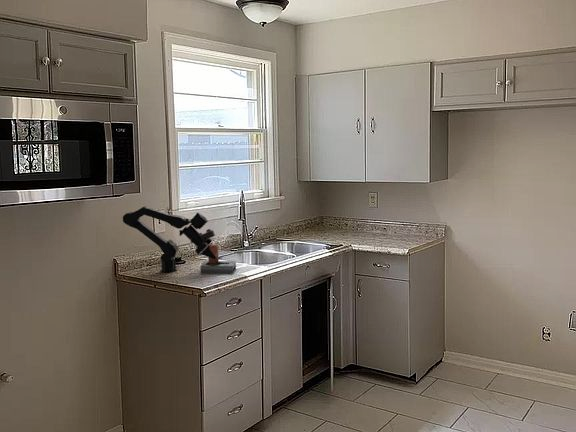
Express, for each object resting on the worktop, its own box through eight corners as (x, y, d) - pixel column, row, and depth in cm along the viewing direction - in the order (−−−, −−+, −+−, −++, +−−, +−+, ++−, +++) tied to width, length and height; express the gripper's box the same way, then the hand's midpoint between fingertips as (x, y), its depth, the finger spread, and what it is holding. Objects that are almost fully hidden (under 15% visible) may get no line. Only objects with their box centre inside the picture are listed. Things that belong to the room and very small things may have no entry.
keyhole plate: (200, 273, 299) (200, 265, 299) (204, 268, 312) (204, 261, 312) (232, 273, 299) (232, 265, 299) (235, 268, 312) (235, 260, 311)
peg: (209, 271, 302) (209, 246, 301) (207, 269, 307) (206, 244, 306) (220, 271, 304) (219, 245, 303) (217, 269, 309) (217, 243, 308)
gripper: (201, 226, 294) (224, 249, 295) (208, 222, 312) (229, 243, 313) (186, 243, 295) (209, 265, 296) (193, 237, 314) (214, 258, 314)
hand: (216, 257), depth 305 cm, fingers closed on peg, 5 cm apart
